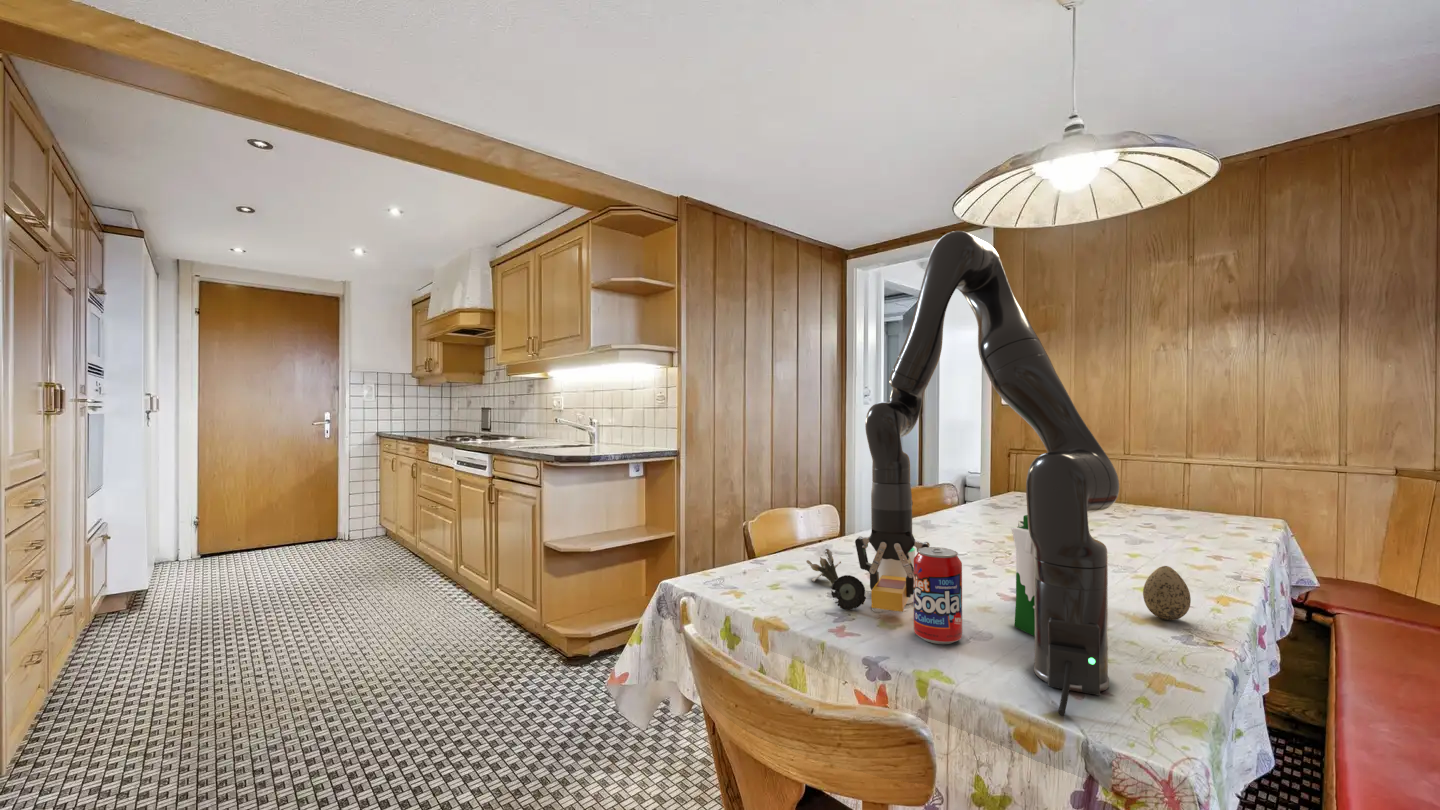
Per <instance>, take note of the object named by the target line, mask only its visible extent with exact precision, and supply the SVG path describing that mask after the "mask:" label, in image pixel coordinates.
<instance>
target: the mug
mask: <svg viewBox="0 0 1440 810" xmlns="http://www.w3.org/2000/svg"><path fill="white" fill-rule="evenodd" d="M876 553H877V552H876V551H875V550H874V556H875V555H876ZM908 554H909V557H910V559H911V563H912V565H913V567H914V558H915V556H916V548H914V547H913V548H912V549H911V550H910V551H909V553H908ZM877 572H879V579H880V577H881V576H882V575H886V576H896V577H907V574H906V571H905V569H904V567H903V566H902V563H901V561H899V560H894V559H882V561H881V563H880V565H879V568H878V570H877ZM909 604H914V593H913V595H911V597H909V599H908V601H907V603H906V605H909Z"/></svg>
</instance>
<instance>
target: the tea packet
mask: <svg viewBox="0 0 1440 810" xmlns="http://www.w3.org/2000/svg"><path fill="white" fill-rule="evenodd" d="M870 592H871V594H870V595H871V597H870V599H871V608H872V609H878V610H885V611H886V610H887V611H892V612H893V611H894V612H900V613H901V612H903V611H904V610H905V607H906V605H907V604H906V603H907V601H908V599H909V597H906V577H896V576H886V575H882V576H881V577H880V579H879V581H878V582H877V583H876V585H875V586H874V587H873V589H872V590H871V589H870Z"/></svg>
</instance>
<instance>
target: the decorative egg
mask: <svg viewBox="0 0 1440 810" xmlns="http://www.w3.org/2000/svg"><path fill="white" fill-rule="evenodd" d="M1187 585H1188V584H1186V582H1185V580H1184V578H1182V576H1181V575H1180V574H1179V573H1178V572H1177V571H1176V570H1175V569H1174V568H1173V567H1171V566H1168V565H1162V566H1160V567H1158V568H1156V569H1155V570H1154V571H1153V572H1151V574H1150V575H1149V576H1148V577H1147V579H1146V581H1145V583H1144V585H1143V589H1142V597H1143V601H1144V604H1145V606H1146V608H1147V610H1149V612H1150V613H1151V614H1152V615H1154V616H1155V617H1156V618H1158V619H1161V620H1164V621H1175V620H1180V619H1181V618H1184V616H1186V614H1187V613H1188V611H1189V610H1190V607H1191V600H1192V599H1191V598H1192V597H1191V593H1190V590H1189V588H1188V586H1187Z"/></svg>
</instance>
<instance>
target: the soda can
mask: <svg viewBox="0 0 1440 810" xmlns="http://www.w3.org/2000/svg"><path fill="white" fill-rule="evenodd" d="M958 554H959V553H958V551H956V550H953V549H951V548H945V547H938V546H937V547H936V546H930V547H924V548H919V549H918V552H917V554H915V558H914V602H913V632H914V633H915V635H916V636H918V638H921V639H922V640H923V641H925V642H927V643H931V644H934V645H951V644H954V643H956V642H959V641H960V640H961V639H962V638H963V562H962V560H961V559H960V558H959V556H958Z"/></svg>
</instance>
